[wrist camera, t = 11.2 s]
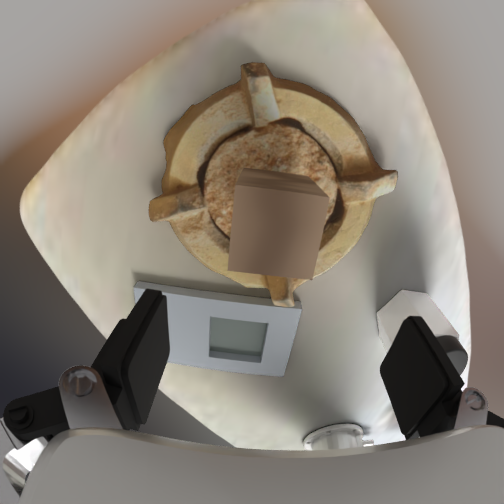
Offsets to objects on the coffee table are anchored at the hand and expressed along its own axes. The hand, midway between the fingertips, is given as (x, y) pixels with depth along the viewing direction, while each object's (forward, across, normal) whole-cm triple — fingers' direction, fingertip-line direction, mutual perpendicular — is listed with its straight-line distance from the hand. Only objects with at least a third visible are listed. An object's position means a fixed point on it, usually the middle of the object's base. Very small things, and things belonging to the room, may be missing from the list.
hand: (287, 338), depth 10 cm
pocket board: (+20, +5, +18) cm, 27 cm away
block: (+16, 0, -1) cm, 16 cm away
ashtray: (+21, 0, -2) cm, 21 cm away
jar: (+21, -20, +12) cm, 31 cm away
